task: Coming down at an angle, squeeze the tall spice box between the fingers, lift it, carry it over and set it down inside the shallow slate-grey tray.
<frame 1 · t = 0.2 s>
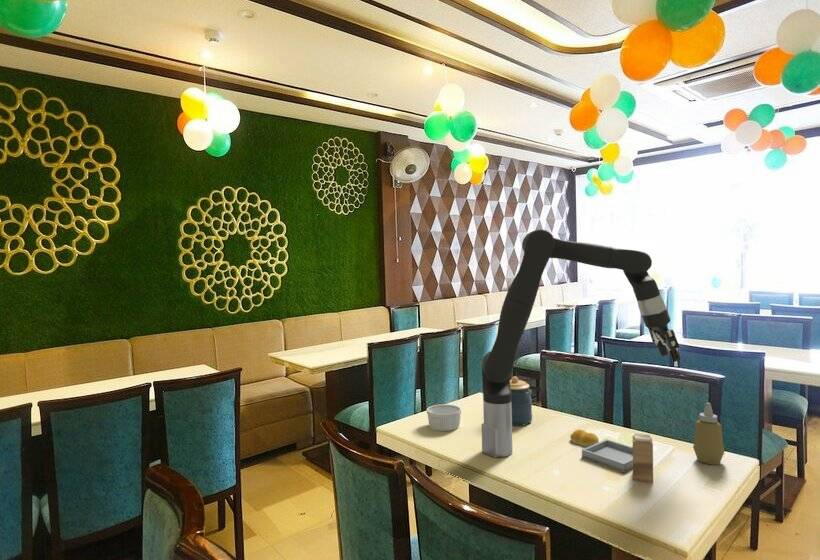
hand: (670, 357, 150), 31 cm above the table, tool tilted 20°, fingers open, 8 cm apart
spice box: (642, 477, 134), on the table
ramekin: (444, 427, 180), on the table
squeeze bottle: (708, 461, 144), on the table
tray: (614, 458, 147), on the table
canister: (515, 421, 185), on the table
bread roll: (584, 443, 161), on the table
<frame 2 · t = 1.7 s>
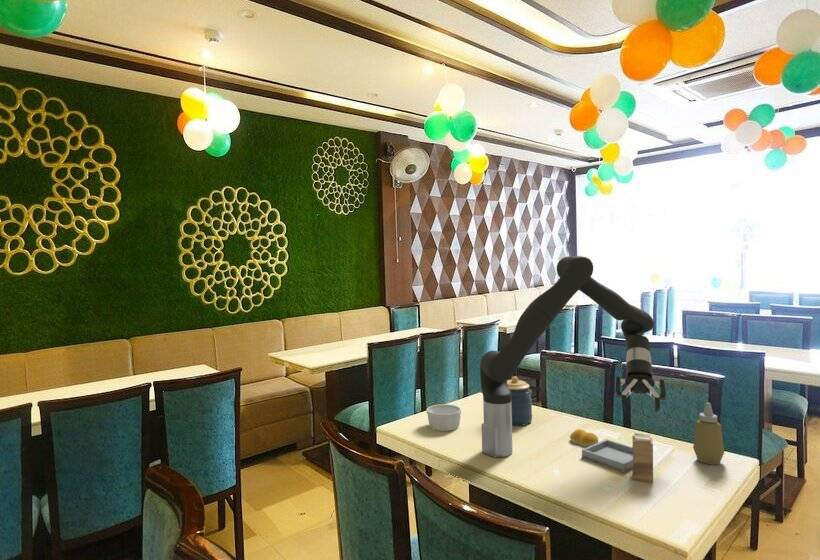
hand: (640, 409, 144), 16 cm above the table, tool tilted 45°, fingers open, 8 cm apart
nothing on the table moved.
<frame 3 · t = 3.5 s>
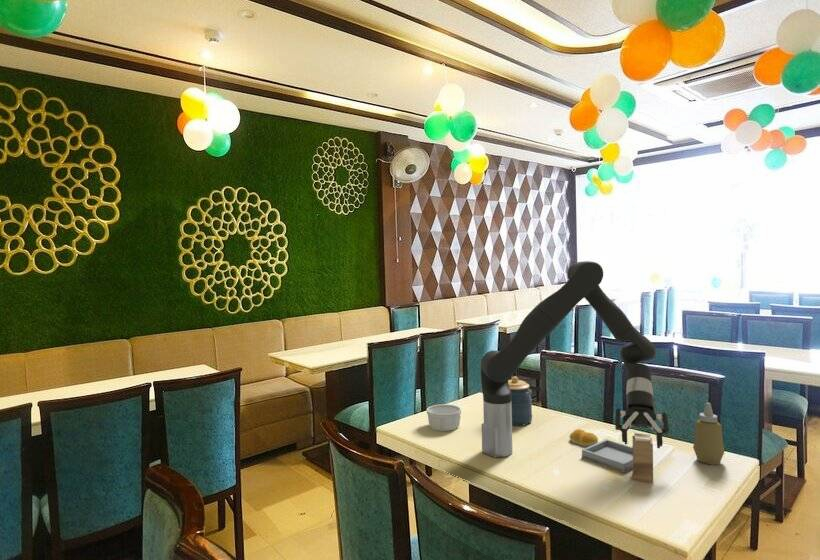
hand: (642, 445, 136), 9 cm above the table, tool tilted 45°, fingers open, 8 cm apart
nothing on the table moved.
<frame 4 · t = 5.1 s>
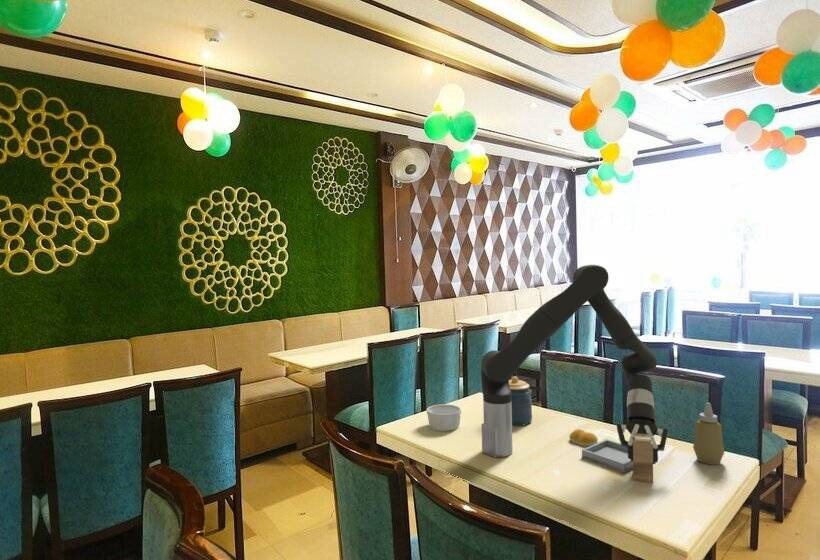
hand: (643, 461, 132), 5 cm above the table, tool tilted 45°, fingers closed on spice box, 5 cm apart
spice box: (642, 477, 134), on the table, touching gripper
everything else where it was.
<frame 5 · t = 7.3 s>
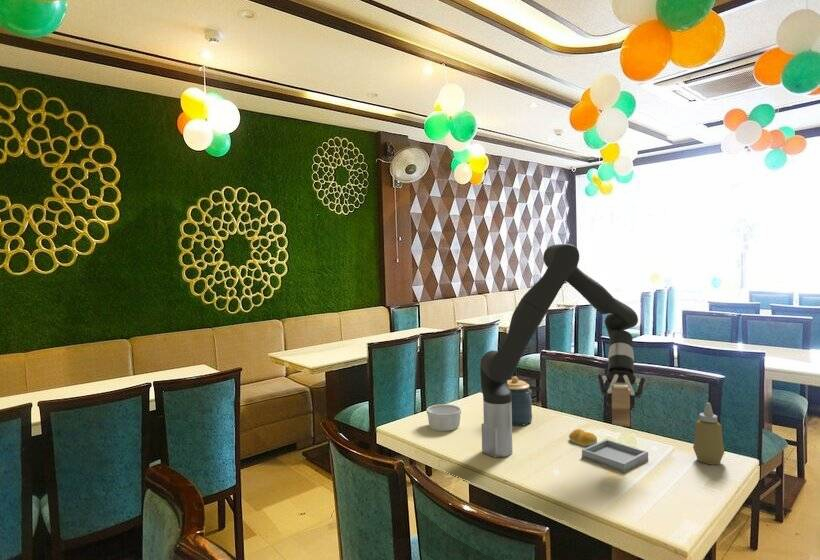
hand: (620, 407, 141), 18 cm above the table, tool tilted 45°, fingers closed on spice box, 5 cm apart
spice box: (621, 423, 143), point 13 cm above the table, touching gripper
everything else where it was.
when the fingers open (8 cm above the table, at t = 10.0 s): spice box drops 1 cm, resting on tray.
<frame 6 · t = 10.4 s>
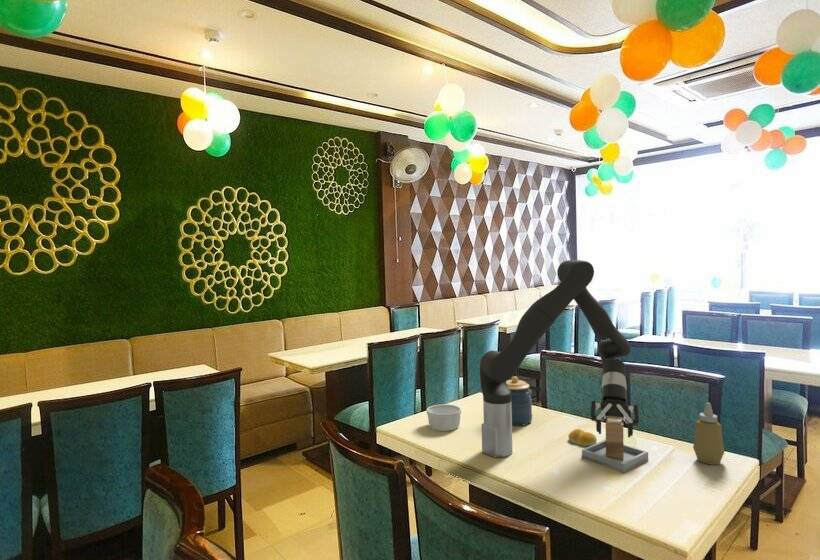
hand: (614, 434, 146), 8 cm above the table, tool tilted 45°, fingers open, 8 cm apart
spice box: (614, 456, 147), point 1 cm above the table, touching tray
everything else where it was.
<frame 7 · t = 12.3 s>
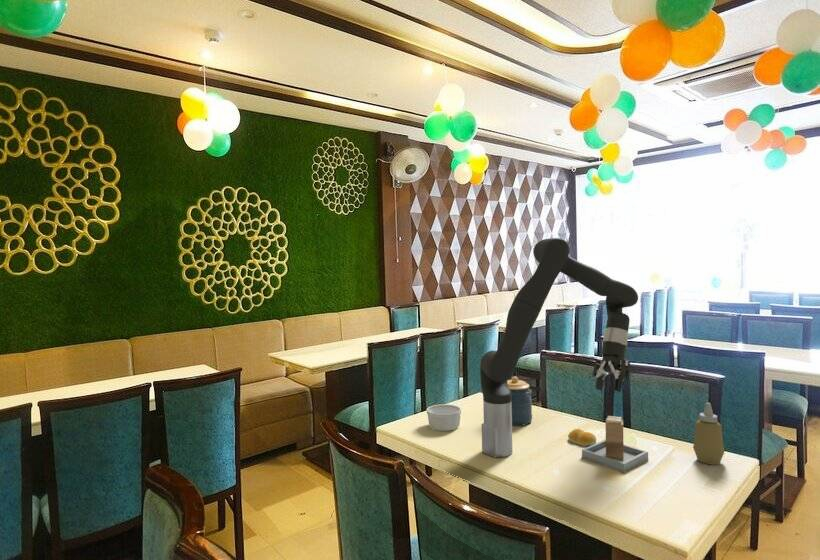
hand: (607, 390, 154), 20 cm above the table, tool tilted 25°, fingers open, 8 cm apart
nothing on the table moved.
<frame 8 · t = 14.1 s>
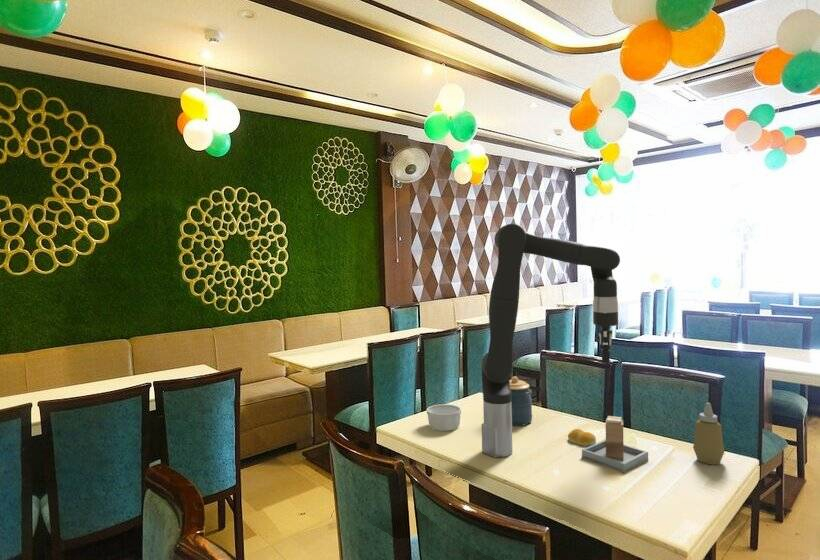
hand: (606, 359, 153), 30 cm above the table, tool pointing down, fingers open, 8 cm apart
nothing on the table moved.
at the end: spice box inside the target area on the tray (0.1 cm from its centre), point 0.8 cm above the tray's base; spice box tilted 0°; the gripper is holding nothing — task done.
